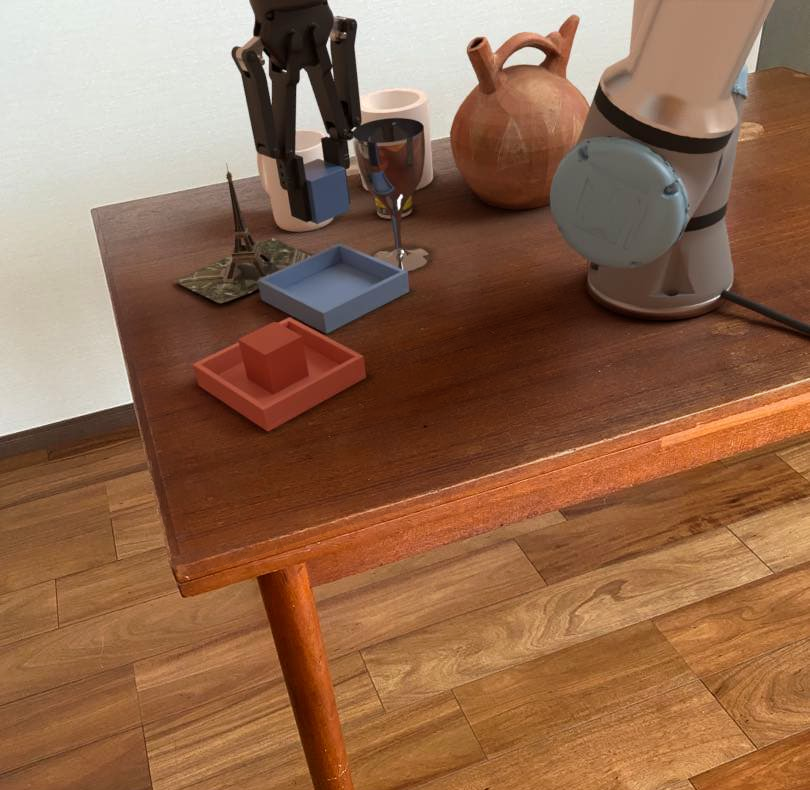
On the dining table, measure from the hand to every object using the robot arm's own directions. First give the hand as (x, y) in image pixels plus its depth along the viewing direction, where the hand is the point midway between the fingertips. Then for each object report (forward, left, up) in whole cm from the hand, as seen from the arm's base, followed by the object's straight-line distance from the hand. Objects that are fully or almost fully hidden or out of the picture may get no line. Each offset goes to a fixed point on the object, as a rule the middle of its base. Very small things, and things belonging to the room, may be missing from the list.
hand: (321, 209), depth 95 cm
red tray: (-10, +15, -10) cm, 21 cm away
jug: (+3, -35, -10) cm, 37 cm away
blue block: (0, 0, 0) cm, 0 cm away
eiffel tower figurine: (+13, +3, -10) cm, 17 cm away
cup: (+22, -11, -10) cm, 27 cm away
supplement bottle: (+12, -20, -10) cm, 26 cm away
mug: (+21, -27, -10) cm, 36 cm away
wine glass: (+1, -11, -10) cm, 15 cm away
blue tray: (0, 0, -10) cm, 10 cm away
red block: (-10, +15, -10) cm, 20 cm away
